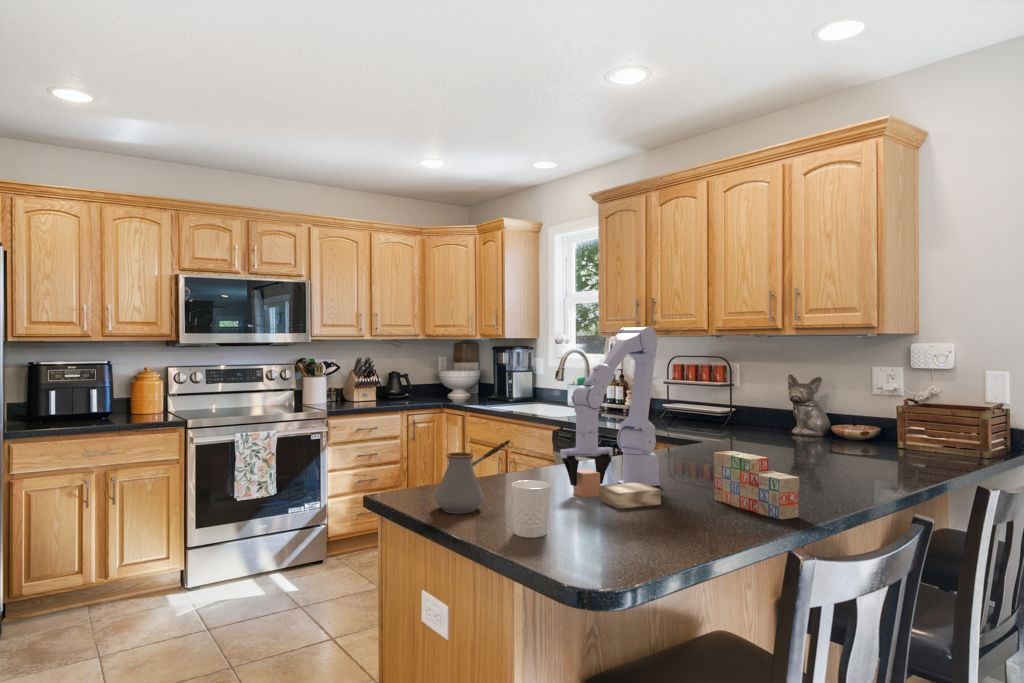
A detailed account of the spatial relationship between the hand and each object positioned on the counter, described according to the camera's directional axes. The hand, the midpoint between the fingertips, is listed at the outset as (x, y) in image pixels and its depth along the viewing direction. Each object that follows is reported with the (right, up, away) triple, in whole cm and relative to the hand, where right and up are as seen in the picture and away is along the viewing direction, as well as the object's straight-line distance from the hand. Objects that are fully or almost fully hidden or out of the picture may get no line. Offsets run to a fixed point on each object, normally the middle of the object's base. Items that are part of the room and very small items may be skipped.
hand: (586, 484), depth 166 cm
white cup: (-16, -2, -36) cm, 39 cm away
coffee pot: (-28, -2, -14) cm, 31 cm away
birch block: (+10, -3, -8) cm, 13 cm away
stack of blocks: (+39, -3, -13) cm, 41 cm away
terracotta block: (0, -3, 0) cm, 3 cm away
